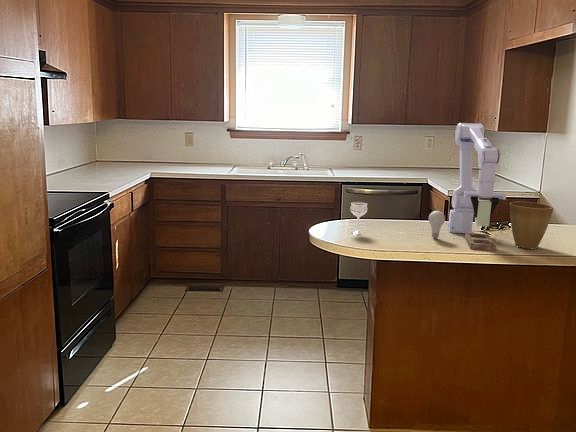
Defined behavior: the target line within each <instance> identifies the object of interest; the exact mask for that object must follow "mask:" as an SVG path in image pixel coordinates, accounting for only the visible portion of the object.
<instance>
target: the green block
mask: <svg viewBox="0 0 576 432" xmlns="http://www.w3.org/2000/svg"><path fill="white" fill-rule="evenodd" d="M490 212H491V201H490V199H479V202H478V208H477V217H474V224H475V226H478V227H490V220H491V218H490Z"/></svg>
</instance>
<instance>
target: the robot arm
mask: <svg viewBox="0 0 576 432" xmlns="http://www.w3.org/2000/svg"><path fill="white" fill-rule="evenodd" d="M454 133H455V134H454V135H455V139H454V141H455V145H457V146H458V147H459V148H458V149H459V186H458V187H457V188H455V189H454V190H453V191H452V196H451V206H452V208H453V209H450V210H449V214H448V216H449V217H448V224H447V229H448V232H449V233H455V234H465V233H475V232H474V230H473V221H474V218H475V217H477V208H478V202H479V200H480V199H489V200H490V201H491V212H490V219H492V217H493V216H492V215H493V213H494V210H495V209H496V208H497V206H498V204H499V202H500V200H504V201H505V200H507V194H506V193H501V192H494V191H495V181H496V180H495V179H496V171H497V165H498V164H499V163H500V159H501V151H500V148H498V147H494V146H493V145H492V143H491V141H490V140H489V139H488V138H487V137H484V133H485V127H484V125H483V124H482V123H481V122H480V123H465V122H463V123H462V122H459V123H457V124H456V127H455V132H454ZM473 148H474V150H475V152H476V153H477V162H478V167H477V168H478V176H477V177H478V178H477V179H478V180H477V188H475V187H474V186H473Z"/></svg>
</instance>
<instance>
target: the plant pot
mask: <svg viewBox="0 0 576 432" xmlns="http://www.w3.org/2000/svg"><path fill="white" fill-rule="evenodd" d="M553 211H554V206H553V205H549V204H547V203H546V204H545V203H540V202H532V201H512V202H509V214H510V215H509V218H510V226H511V233H512V237H513V241H514V244H515V247H517V246H518V247H517V248H520V247H521V248H520V249H524V248H530V249H529V250H532V249H531V248H536V249H537V248H538V247H539V245H540V243H541V241H542V240H543V238H544V235H545V233H546V231H547V229H548V226H549V223H550V221H551V218H552V214H553Z"/></svg>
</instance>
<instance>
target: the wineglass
mask: <svg viewBox="0 0 576 432" xmlns="http://www.w3.org/2000/svg"><path fill="white" fill-rule="evenodd" d="M350 204H351V205H350V208H349V210H350V213H351V214H352V215H353V216H355V217H356V218H357V219H356V220H357V221H356V225H357V226H356V229H357V230H356V231H352V232H351V234H352V233H353V235H357V234H361V235H364V232H363V231H359V225H360V224H359V223H360V218H361V217H363V216H364V215H366V214H367V212H368V203H367V202H363V201H352V202H350Z"/></svg>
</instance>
